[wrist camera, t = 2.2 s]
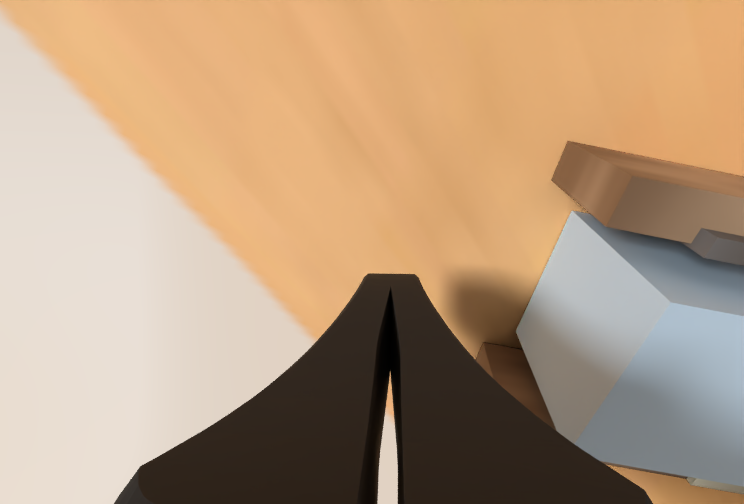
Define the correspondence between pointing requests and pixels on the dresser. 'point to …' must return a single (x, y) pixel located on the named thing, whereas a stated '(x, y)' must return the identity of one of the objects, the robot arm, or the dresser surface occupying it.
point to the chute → (639, 215)
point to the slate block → (641, 351)
